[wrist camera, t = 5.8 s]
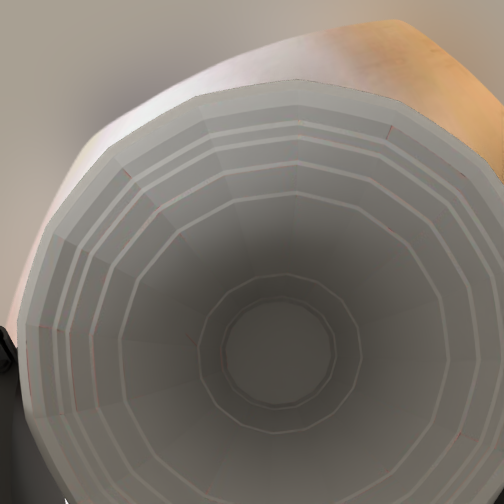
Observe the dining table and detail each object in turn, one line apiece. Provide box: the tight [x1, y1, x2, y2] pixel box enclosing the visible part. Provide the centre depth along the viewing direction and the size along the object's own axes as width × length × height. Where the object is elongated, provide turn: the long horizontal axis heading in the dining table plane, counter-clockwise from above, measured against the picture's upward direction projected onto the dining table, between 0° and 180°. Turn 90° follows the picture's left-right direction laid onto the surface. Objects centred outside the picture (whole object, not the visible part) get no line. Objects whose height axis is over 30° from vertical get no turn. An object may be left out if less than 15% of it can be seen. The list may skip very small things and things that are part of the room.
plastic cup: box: [17, 79, 504, 504], centre depth 9 cm, size 11×11×12 cm
